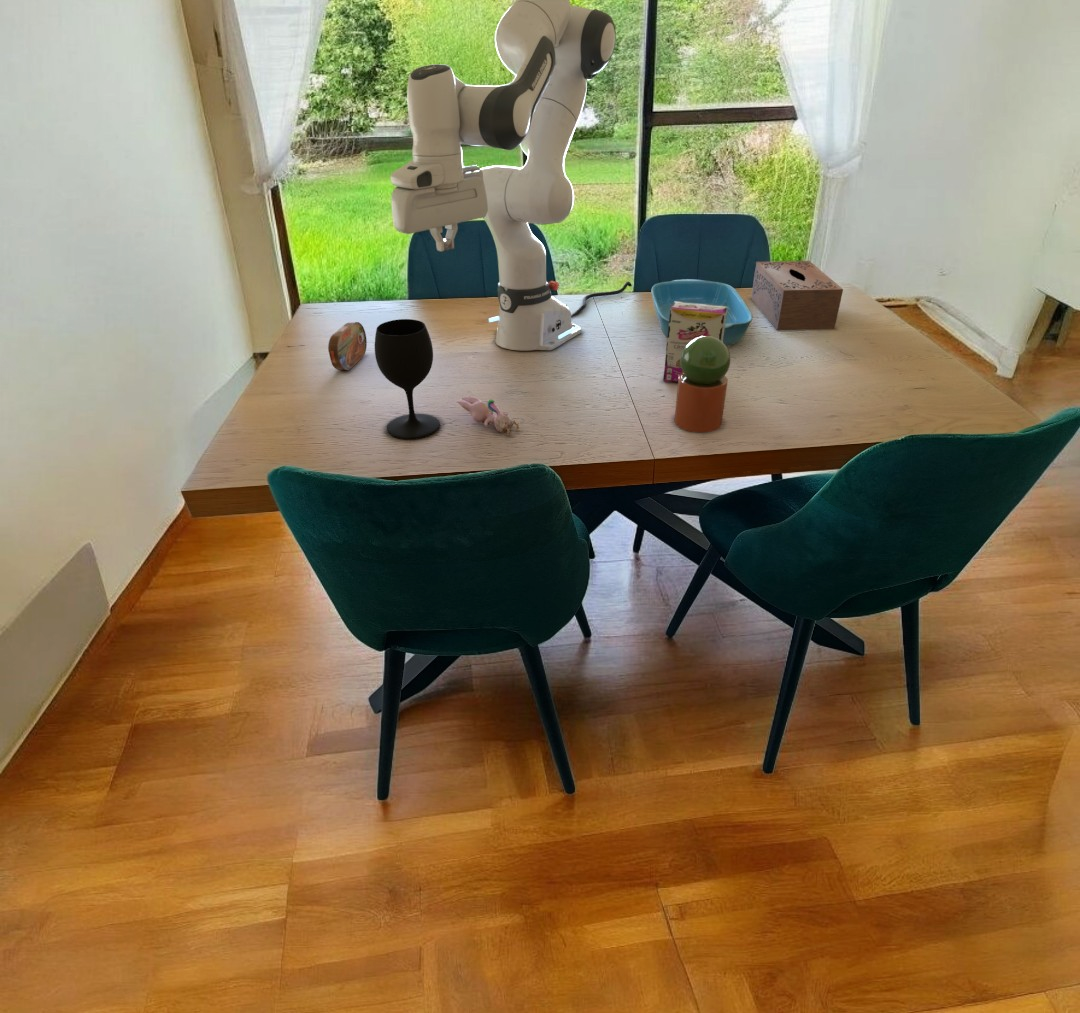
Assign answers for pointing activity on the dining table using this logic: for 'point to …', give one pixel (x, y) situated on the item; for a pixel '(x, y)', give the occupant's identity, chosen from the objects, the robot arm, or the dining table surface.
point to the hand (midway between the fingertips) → (445, 249)
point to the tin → (347, 346)
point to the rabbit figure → (487, 413)
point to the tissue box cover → (796, 295)
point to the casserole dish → (703, 294)
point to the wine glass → (406, 371)
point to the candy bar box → (690, 331)
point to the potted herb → (702, 385)
